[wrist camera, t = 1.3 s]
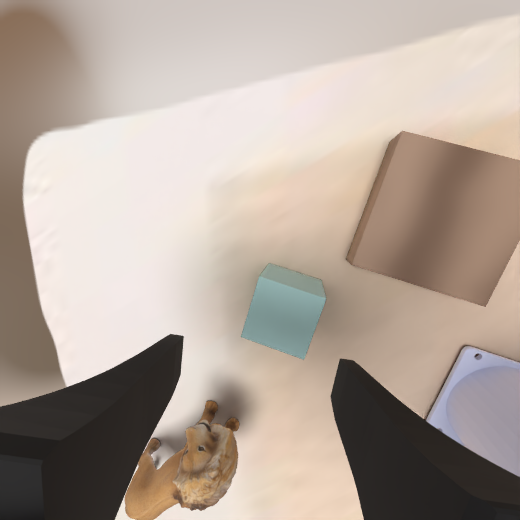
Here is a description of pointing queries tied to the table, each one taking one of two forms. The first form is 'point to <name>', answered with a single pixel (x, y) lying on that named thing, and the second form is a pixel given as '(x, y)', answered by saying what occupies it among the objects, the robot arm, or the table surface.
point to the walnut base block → (441, 217)
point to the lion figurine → (186, 470)
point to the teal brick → (284, 310)
